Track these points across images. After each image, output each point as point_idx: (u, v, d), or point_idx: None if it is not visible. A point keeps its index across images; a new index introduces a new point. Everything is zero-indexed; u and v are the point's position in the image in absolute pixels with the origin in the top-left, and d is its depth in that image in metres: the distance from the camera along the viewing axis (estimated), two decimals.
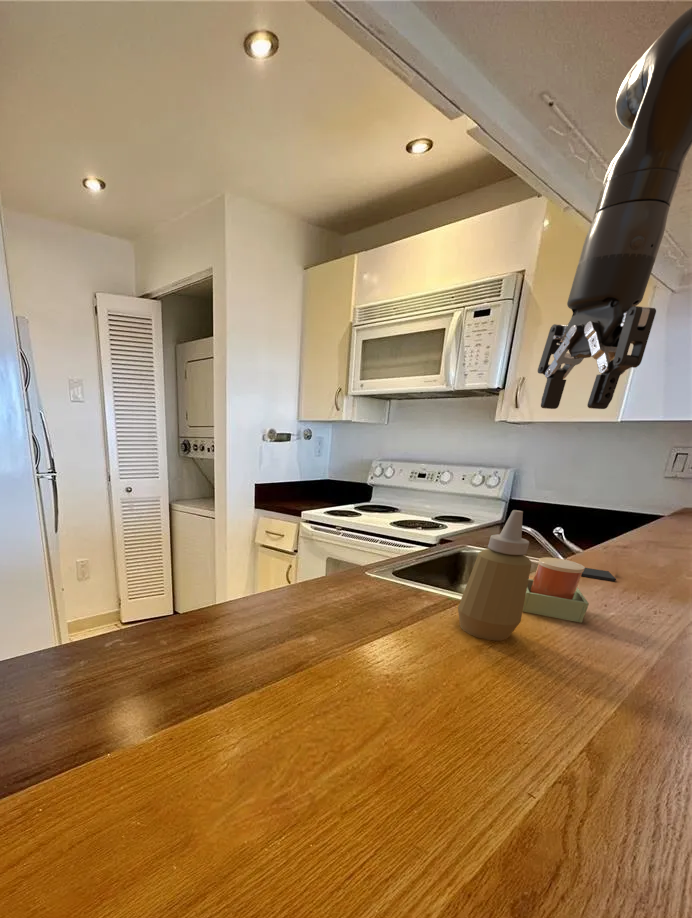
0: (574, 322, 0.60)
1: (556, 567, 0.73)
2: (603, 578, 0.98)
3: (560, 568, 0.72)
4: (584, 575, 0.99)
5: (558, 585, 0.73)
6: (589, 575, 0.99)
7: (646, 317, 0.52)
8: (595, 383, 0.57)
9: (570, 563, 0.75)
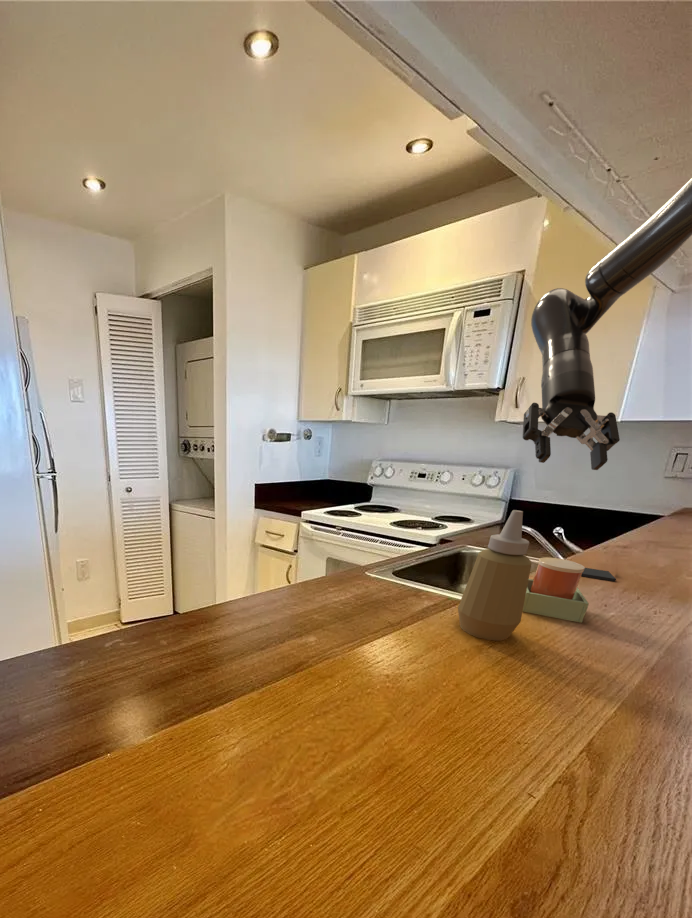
0: None
1: (556, 567, 0.73)
2: (603, 578, 0.98)
3: (560, 568, 0.72)
4: (584, 575, 0.99)
5: (558, 585, 0.73)
6: (589, 575, 0.99)
7: (528, 411, 0.81)
8: None
9: (570, 563, 0.75)
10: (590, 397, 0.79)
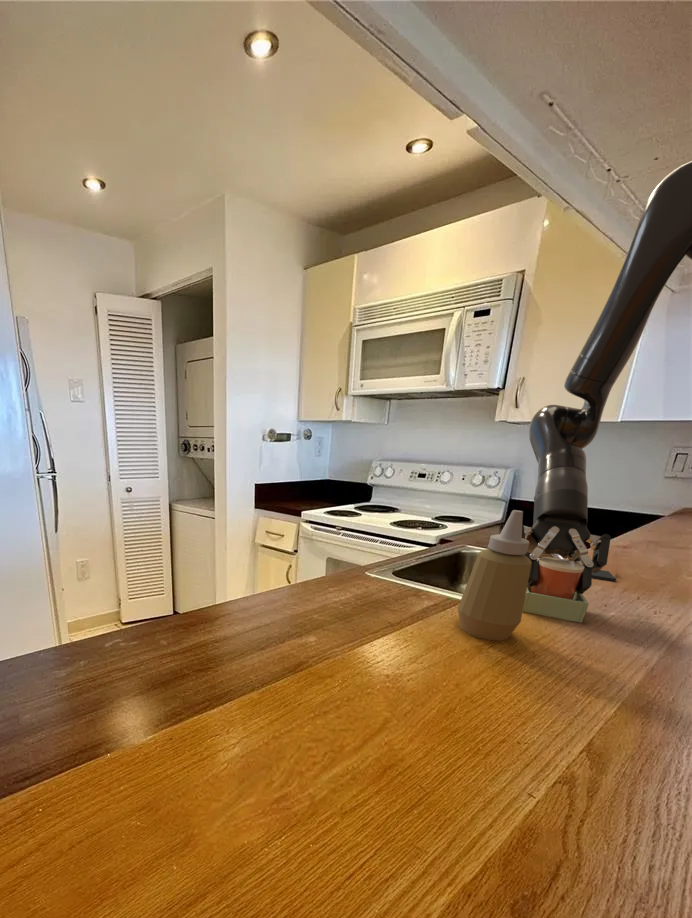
0: None
1: (556, 567, 0.73)
2: (603, 578, 0.98)
3: (560, 568, 0.72)
4: None
5: (558, 585, 0.73)
6: None
7: None
8: None
9: (570, 563, 0.75)
10: (580, 516, 0.76)
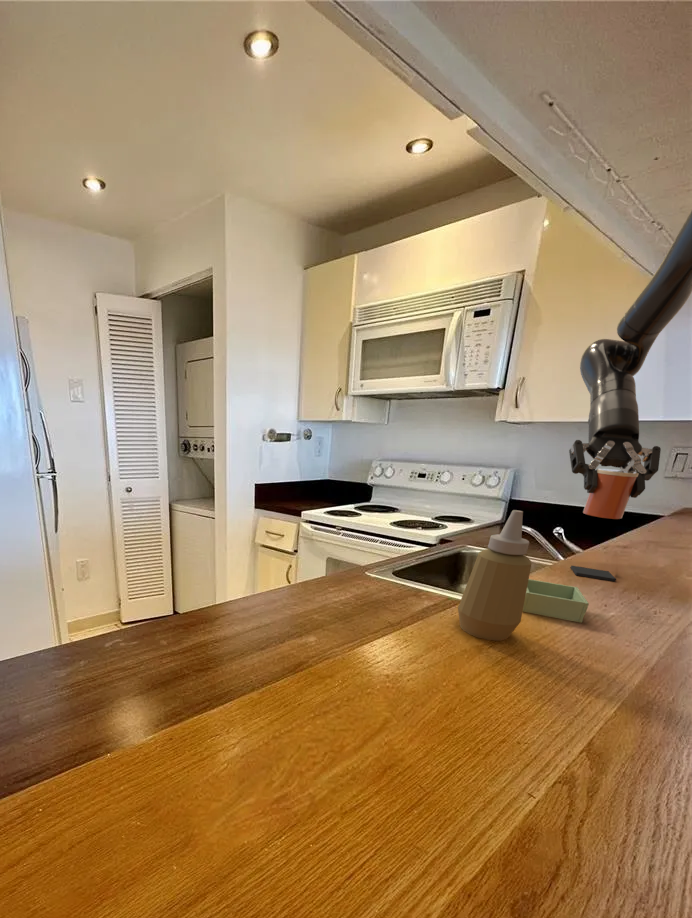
0: None
1: (614, 472, 0.83)
2: (603, 578, 0.98)
3: (618, 473, 0.82)
4: (584, 575, 0.99)
5: (616, 488, 0.83)
6: (589, 575, 0.99)
7: (572, 448, 0.89)
8: None
9: (625, 471, 0.85)
10: (633, 431, 0.86)
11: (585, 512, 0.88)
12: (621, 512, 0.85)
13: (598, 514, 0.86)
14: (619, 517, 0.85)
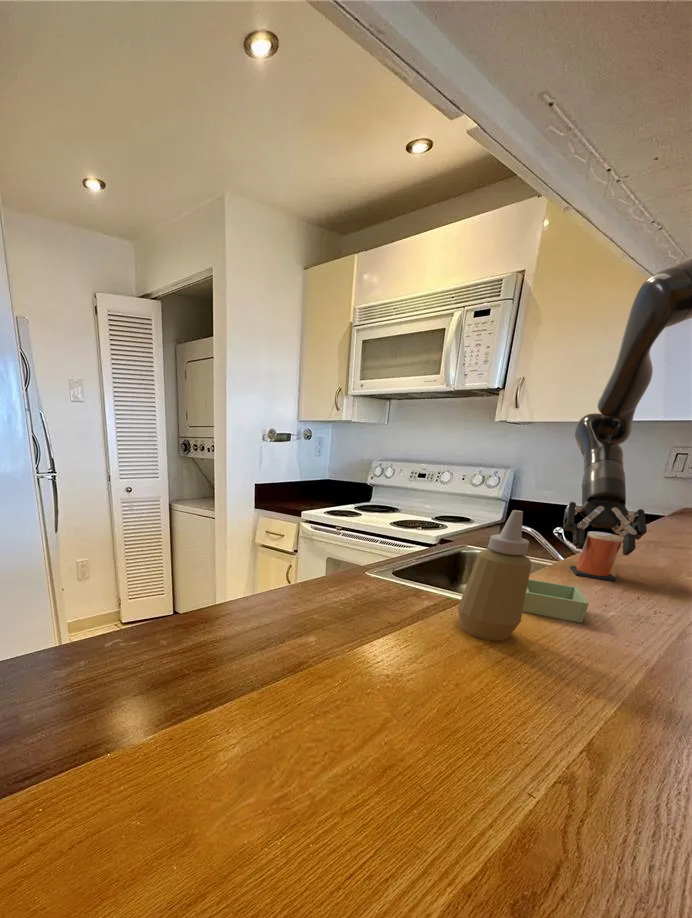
0: None
1: (602, 537, 0.96)
2: (603, 578, 0.98)
3: (606, 538, 0.95)
4: (584, 575, 0.99)
5: (604, 551, 0.96)
6: (589, 575, 0.99)
7: (567, 508, 1.02)
8: None
9: (612, 535, 0.98)
10: (620, 498, 0.99)
11: (578, 569, 1.01)
12: (609, 570, 0.98)
13: (589, 571, 0.99)
14: (607, 575, 0.98)
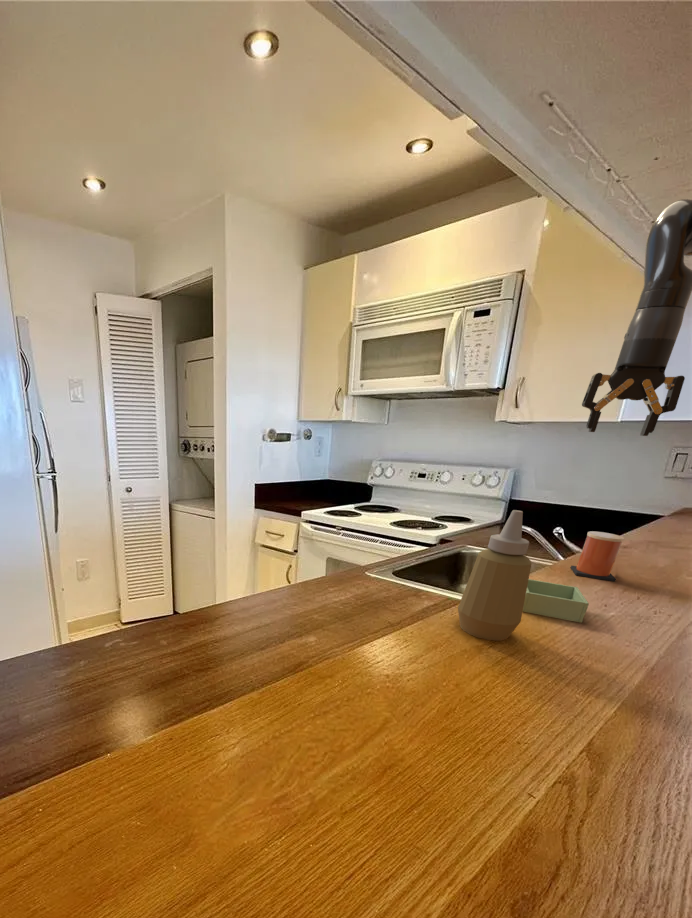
0: None
1: (602, 537, 0.96)
2: (603, 578, 0.98)
3: (606, 538, 0.95)
4: (584, 575, 0.99)
5: (604, 551, 0.96)
6: (589, 575, 0.99)
7: (592, 379, 0.90)
8: None
9: (612, 535, 0.98)
10: (657, 366, 0.84)
11: (578, 569, 1.01)
12: (609, 570, 0.98)
13: (589, 571, 0.99)
14: (607, 575, 0.98)
